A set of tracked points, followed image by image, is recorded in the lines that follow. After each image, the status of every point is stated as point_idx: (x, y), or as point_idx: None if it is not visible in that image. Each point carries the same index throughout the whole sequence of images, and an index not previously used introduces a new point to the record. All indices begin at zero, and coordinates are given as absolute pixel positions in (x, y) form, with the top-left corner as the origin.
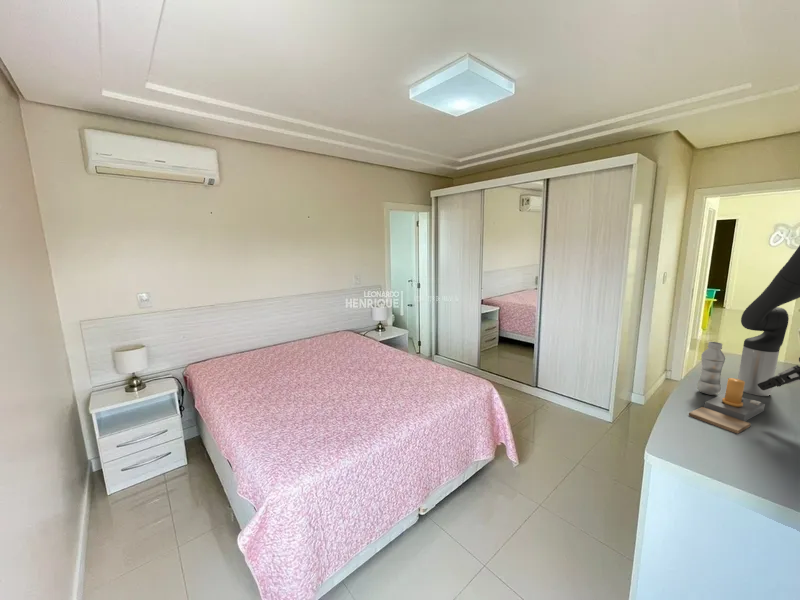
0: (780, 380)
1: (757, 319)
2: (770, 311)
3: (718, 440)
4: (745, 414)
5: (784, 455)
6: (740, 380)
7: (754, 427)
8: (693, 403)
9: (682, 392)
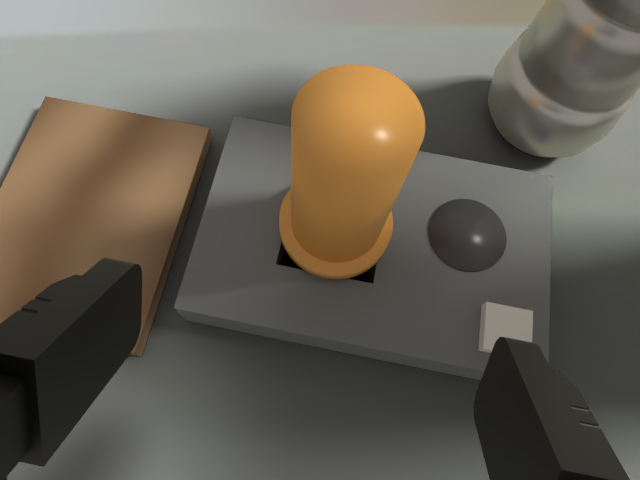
0: (509, 473)
1: None
2: None
3: None
4: (185, 310)
5: None
6: (395, 144)
7: (143, 377)
8: (279, 96)
9: (416, 35)
